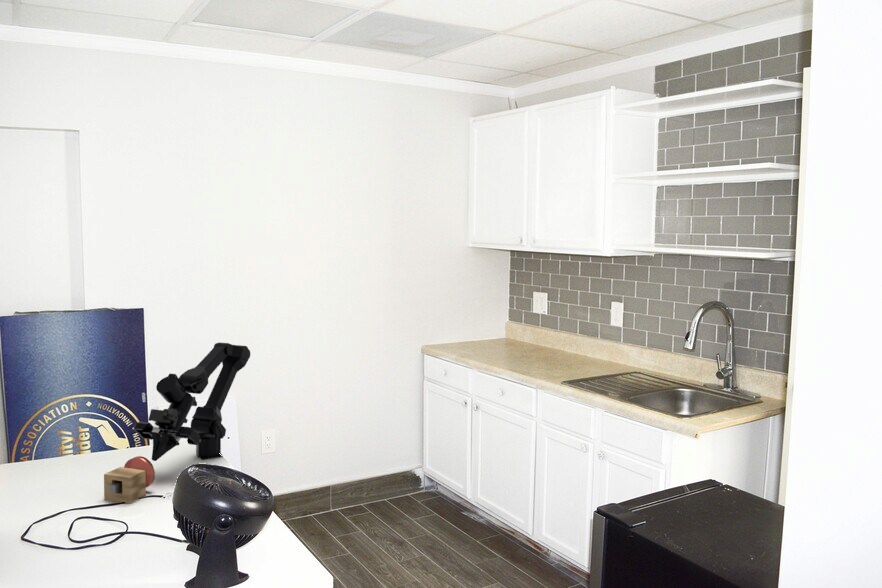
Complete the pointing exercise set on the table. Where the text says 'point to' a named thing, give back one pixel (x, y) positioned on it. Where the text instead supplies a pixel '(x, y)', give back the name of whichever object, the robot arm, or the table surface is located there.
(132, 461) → the copper disc handle
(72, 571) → the table surface
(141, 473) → the tan block
